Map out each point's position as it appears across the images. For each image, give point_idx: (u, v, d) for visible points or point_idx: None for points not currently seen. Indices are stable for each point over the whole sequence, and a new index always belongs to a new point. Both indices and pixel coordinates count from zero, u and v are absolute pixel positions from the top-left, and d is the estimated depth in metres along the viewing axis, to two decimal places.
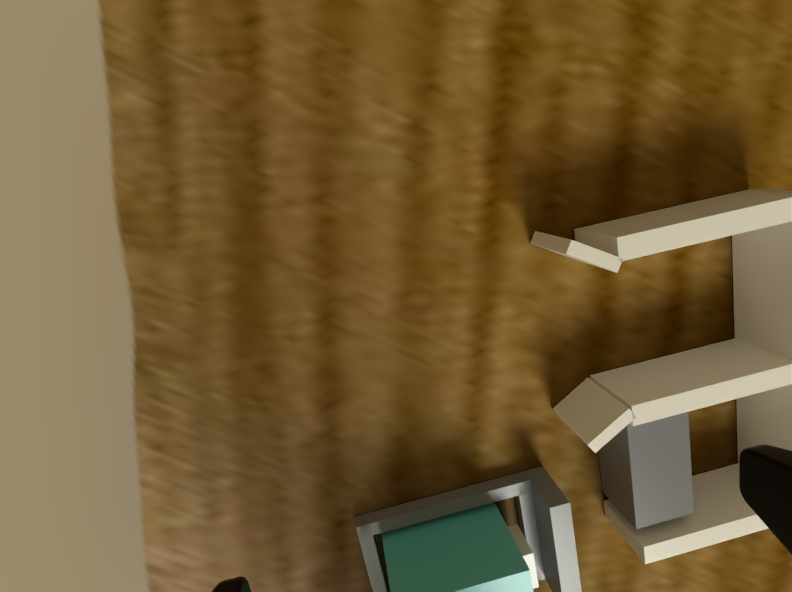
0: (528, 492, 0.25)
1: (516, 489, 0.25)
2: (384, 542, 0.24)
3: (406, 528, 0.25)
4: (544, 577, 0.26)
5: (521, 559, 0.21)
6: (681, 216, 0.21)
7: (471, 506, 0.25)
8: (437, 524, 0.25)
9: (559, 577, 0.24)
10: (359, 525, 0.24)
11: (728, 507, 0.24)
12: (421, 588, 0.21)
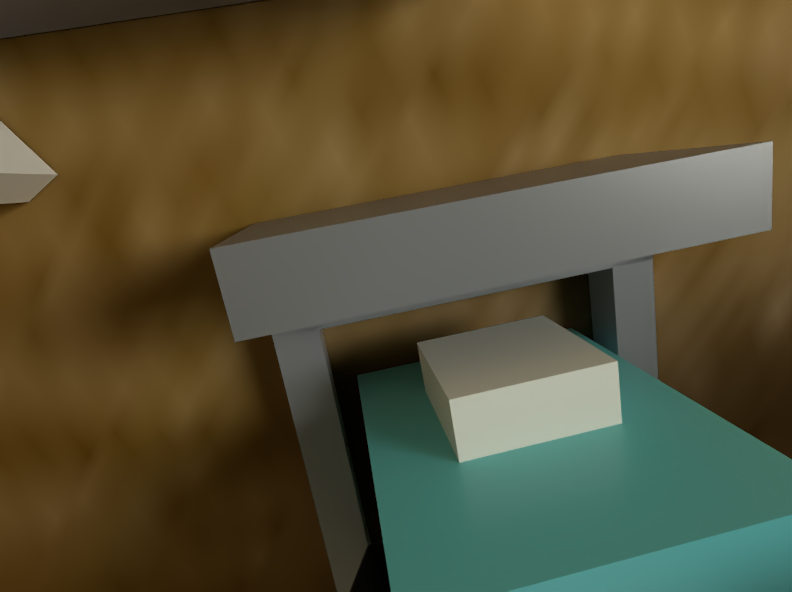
0: None
1: (295, 339, 0.07)
2: None
3: None
4: None
5: (388, 571, 0.04)
6: None
7: (344, 472, 0.08)
8: None
9: (593, 263, 0.06)
10: None
11: None
12: None
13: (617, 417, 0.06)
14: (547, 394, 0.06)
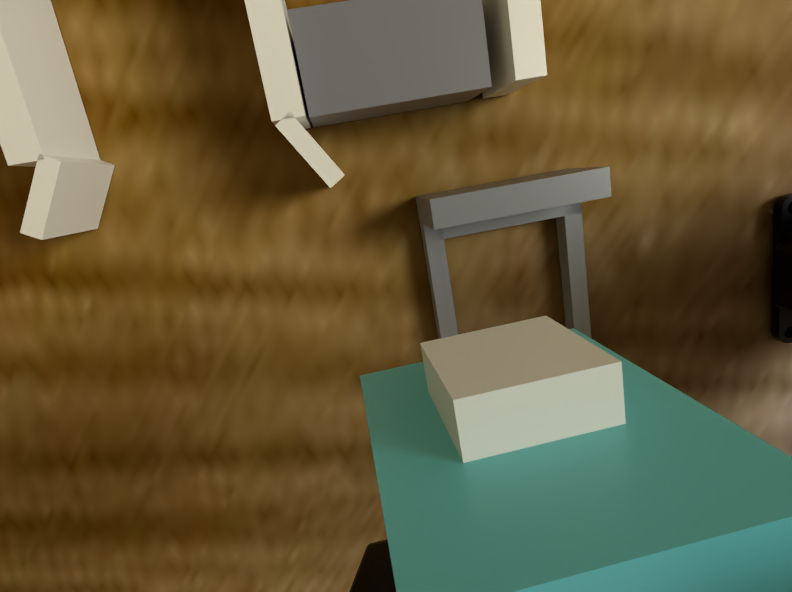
0: None
1: (434, 243, 0.19)
2: None
3: None
4: None
5: None
6: None
7: (450, 302, 0.19)
8: None
9: (549, 207, 0.17)
10: None
11: None
12: None
13: (621, 416, 0.06)
14: (551, 394, 0.06)
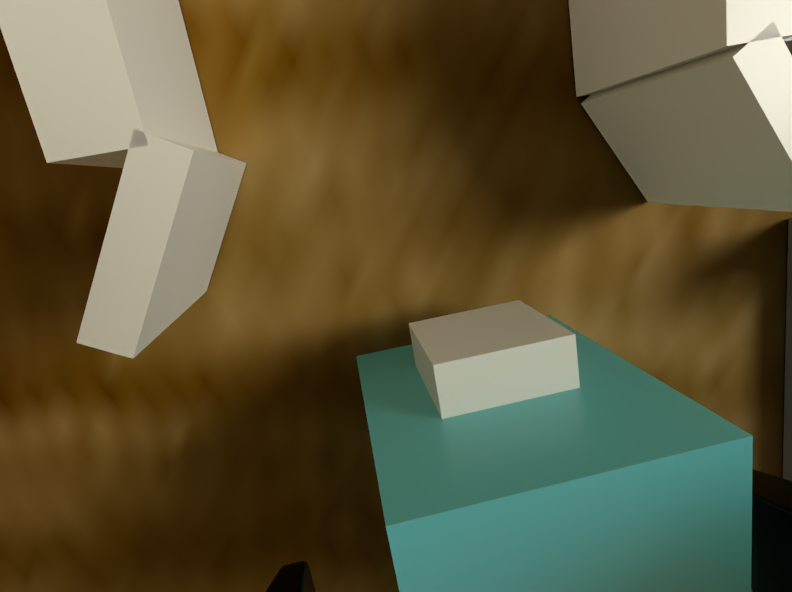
0: None
1: None
2: None
3: None
4: None
5: None
6: None
7: None
8: None
9: None
10: None
11: None
12: None
13: (576, 382, 0.07)
14: (516, 361, 0.07)
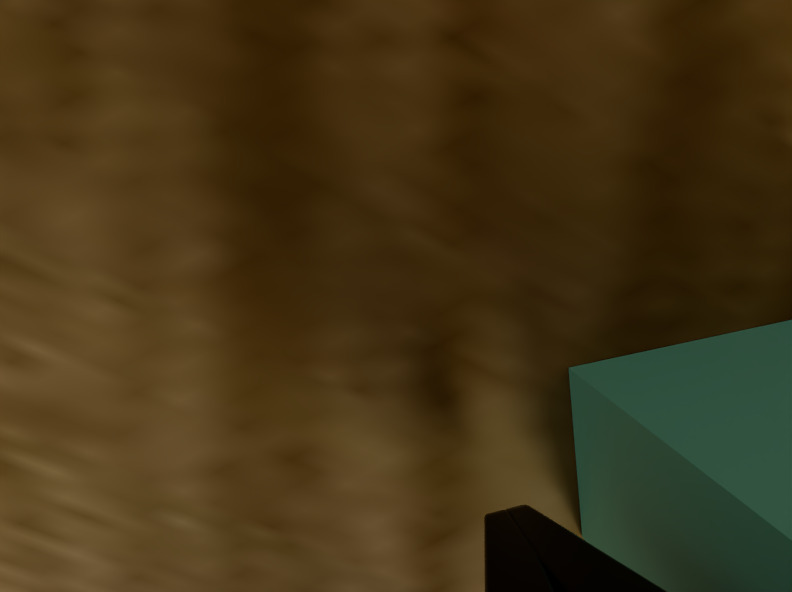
0: None
1: None
2: (603, 390, 0.09)
3: (647, 365, 0.09)
4: None
5: None
6: None
7: None
8: (735, 353, 0.09)
9: None
10: None
11: None
12: None
13: None
14: None
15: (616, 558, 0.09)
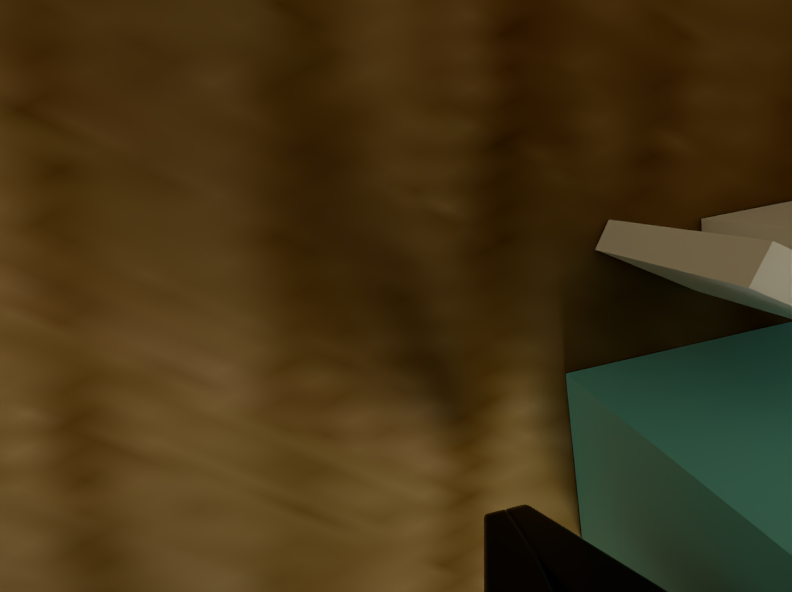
0: None
1: None
2: (600, 396, 0.09)
3: (643, 370, 0.09)
4: None
5: None
6: None
7: None
8: (731, 357, 0.09)
9: None
10: None
11: None
12: None
13: None
14: None
15: None
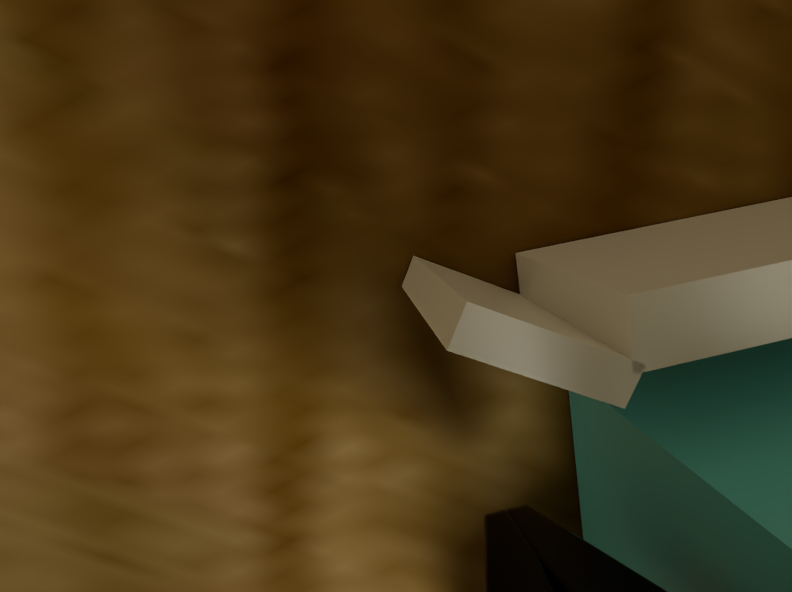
0: None
1: None
2: None
3: None
4: None
5: None
6: None
7: None
8: (732, 355, 0.09)
9: None
10: None
11: None
12: None
13: None
14: None
15: None
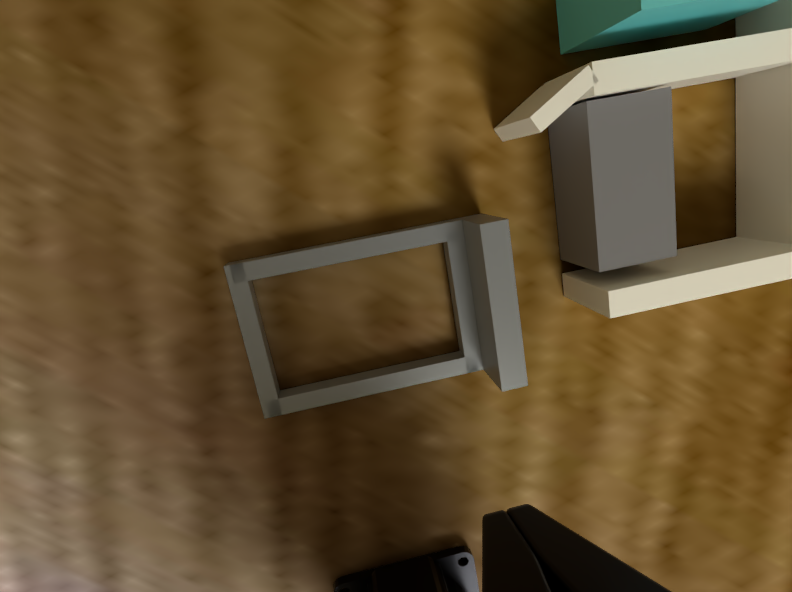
0: (459, 237, 0.19)
1: (443, 232, 0.19)
2: None
3: None
4: (482, 369, 0.20)
5: None
6: None
7: (382, 251, 0.18)
8: None
9: (494, 335, 0.18)
10: (229, 265, 0.18)
11: (723, 259, 0.18)
12: None
13: None
14: None
15: (576, 25, 0.17)
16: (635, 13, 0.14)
